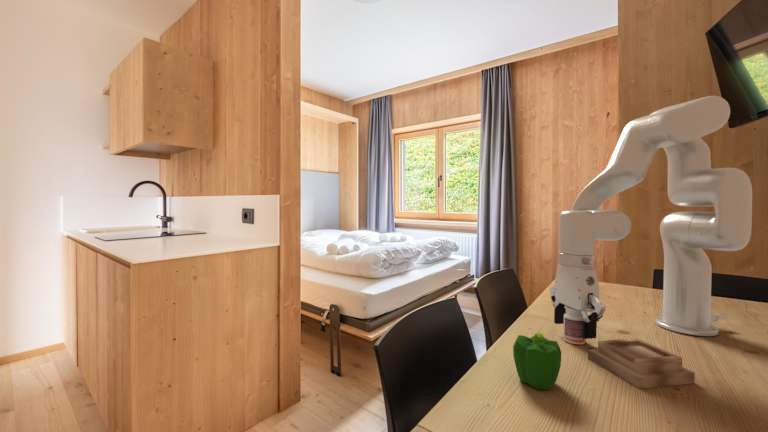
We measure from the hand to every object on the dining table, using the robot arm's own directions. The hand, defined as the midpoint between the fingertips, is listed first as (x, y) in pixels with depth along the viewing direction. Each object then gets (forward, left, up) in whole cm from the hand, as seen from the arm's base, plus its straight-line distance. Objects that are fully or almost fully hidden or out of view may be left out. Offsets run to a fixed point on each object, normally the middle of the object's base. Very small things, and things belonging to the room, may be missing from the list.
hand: (573, 330), depth 81 cm
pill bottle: (0, 0, -3) cm, 3 cm away
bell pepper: (+21, +16, -3) cm, 26 cm away
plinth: (-2, +15, -3) cm, 15 cm away
